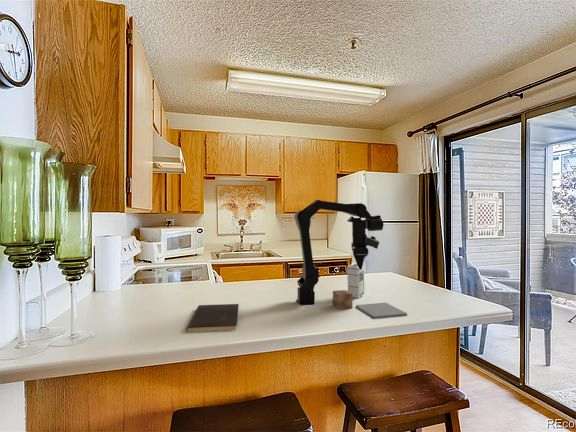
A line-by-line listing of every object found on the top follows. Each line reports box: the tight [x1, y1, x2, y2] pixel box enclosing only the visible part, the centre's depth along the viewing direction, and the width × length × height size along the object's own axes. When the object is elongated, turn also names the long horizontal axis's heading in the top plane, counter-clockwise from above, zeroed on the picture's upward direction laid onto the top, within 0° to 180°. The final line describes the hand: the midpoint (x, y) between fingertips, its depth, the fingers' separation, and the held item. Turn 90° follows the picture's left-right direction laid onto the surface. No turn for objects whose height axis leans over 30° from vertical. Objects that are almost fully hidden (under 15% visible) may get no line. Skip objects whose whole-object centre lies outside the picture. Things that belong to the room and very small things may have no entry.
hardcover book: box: [185, 303, 240, 333], centre depth 110 cm, size 16×23×2 cm
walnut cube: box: [332, 289, 354, 310], centre depth 126 cm, size 6×6×6 cm
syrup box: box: [346, 262, 365, 299], centre depth 141 cm, size 6×6×14 cm
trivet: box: [355, 302, 408, 319], centre depth 120 cm, size 14×14×1 cm
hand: (359, 266), depth 135 cm, fingers open, 9 cm apart
